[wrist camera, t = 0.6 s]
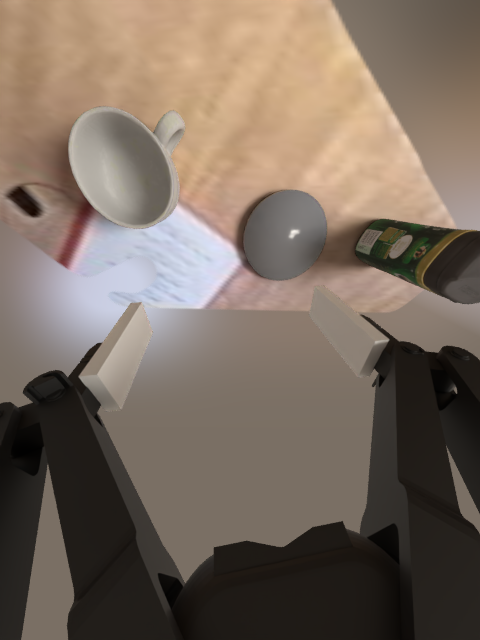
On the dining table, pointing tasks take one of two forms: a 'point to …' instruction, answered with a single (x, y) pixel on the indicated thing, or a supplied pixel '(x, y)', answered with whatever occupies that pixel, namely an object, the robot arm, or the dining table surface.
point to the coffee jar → (425, 257)
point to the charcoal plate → (285, 234)
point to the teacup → (126, 165)
